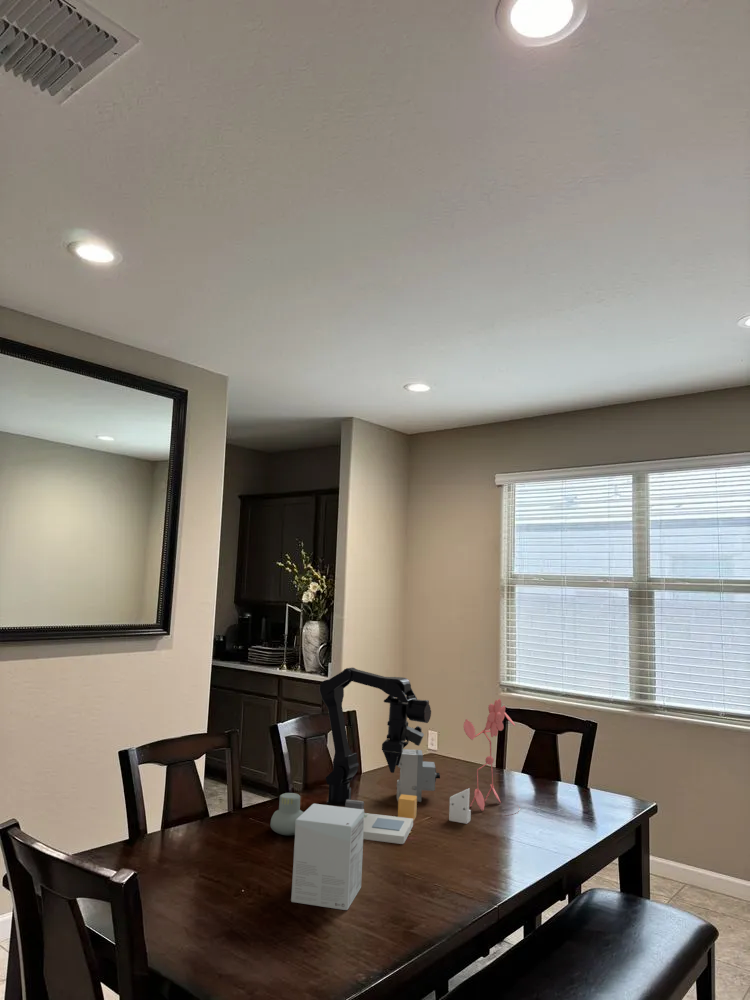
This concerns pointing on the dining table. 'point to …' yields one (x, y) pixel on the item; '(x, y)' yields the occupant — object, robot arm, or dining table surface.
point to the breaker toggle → (354, 804)
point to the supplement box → (328, 856)
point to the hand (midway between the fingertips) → (394, 768)
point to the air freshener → (286, 814)
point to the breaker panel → (386, 828)
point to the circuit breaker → (415, 774)
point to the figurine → (494, 725)
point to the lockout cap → (407, 806)
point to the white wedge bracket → (460, 807)
